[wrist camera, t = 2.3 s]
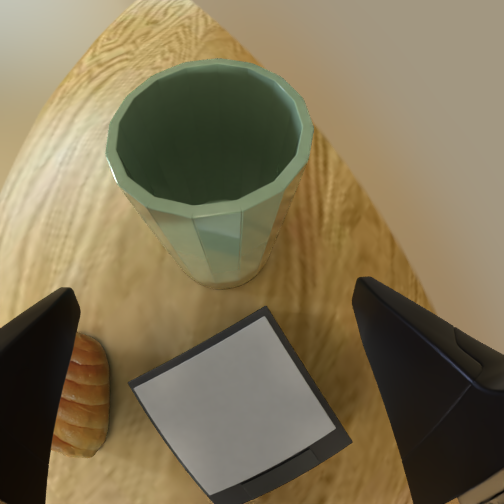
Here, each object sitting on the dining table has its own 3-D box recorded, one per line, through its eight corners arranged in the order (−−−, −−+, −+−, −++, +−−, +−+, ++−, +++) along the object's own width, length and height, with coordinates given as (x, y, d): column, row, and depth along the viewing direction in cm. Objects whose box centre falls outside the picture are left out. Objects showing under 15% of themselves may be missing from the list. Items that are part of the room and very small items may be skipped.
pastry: (59, 318, 19) (31, 313, 15) (132, 353, 19) (111, 356, 15) (38, 419, 16) (11, 428, 13) (106, 458, 16) (85, 477, 13)
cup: (287, 258, 21) (354, 155, 9) (203, 307, 20) (152, 262, 7) (239, 184, 23) (244, 42, 10) (160, 226, 21) (87, 107, 9)
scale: (340, 431, 18) (357, 446, 15) (222, 496, 16) (221, 518, 13) (262, 308, 20) (267, 303, 17) (139, 377, 18) (122, 384, 15)
